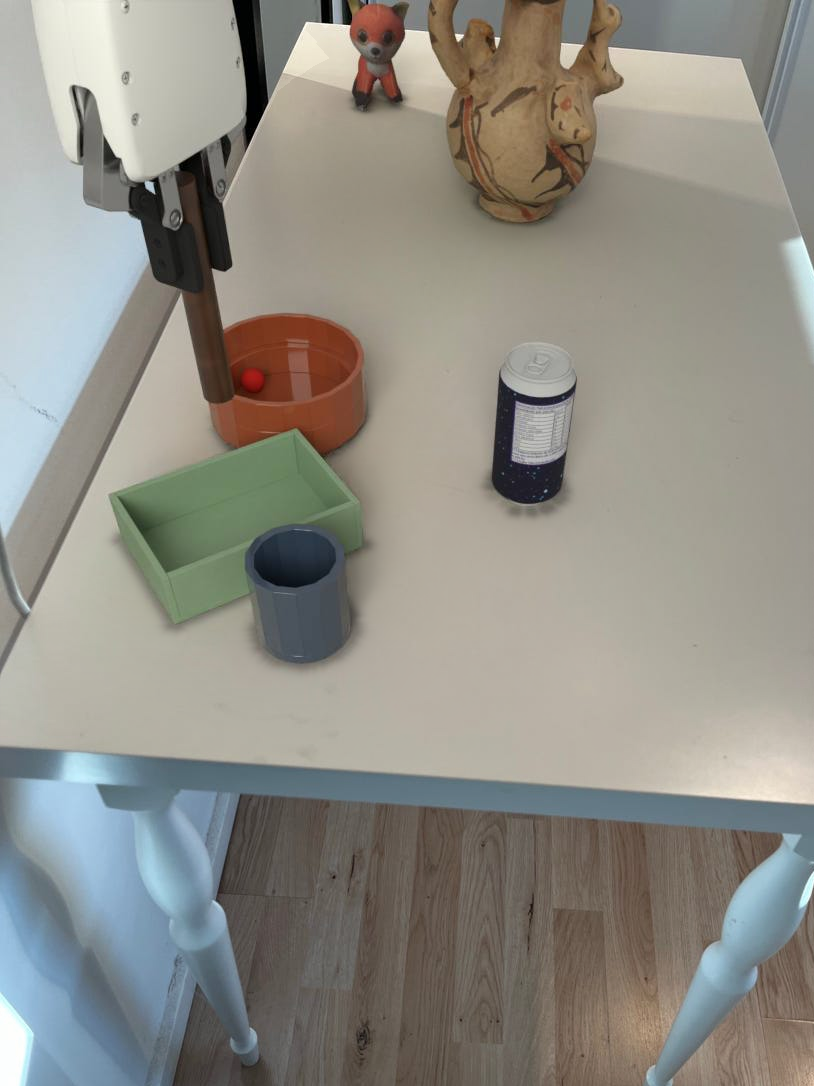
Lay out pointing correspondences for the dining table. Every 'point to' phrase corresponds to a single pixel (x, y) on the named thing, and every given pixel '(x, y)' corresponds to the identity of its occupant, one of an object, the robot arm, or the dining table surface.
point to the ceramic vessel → (523, 102)
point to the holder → (299, 592)
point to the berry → (253, 380)
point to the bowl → (293, 381)
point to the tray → (228, 518)
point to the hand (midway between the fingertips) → (193, 272)
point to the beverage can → (533, 422)
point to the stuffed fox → (376, 47)
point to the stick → (204, 306)
